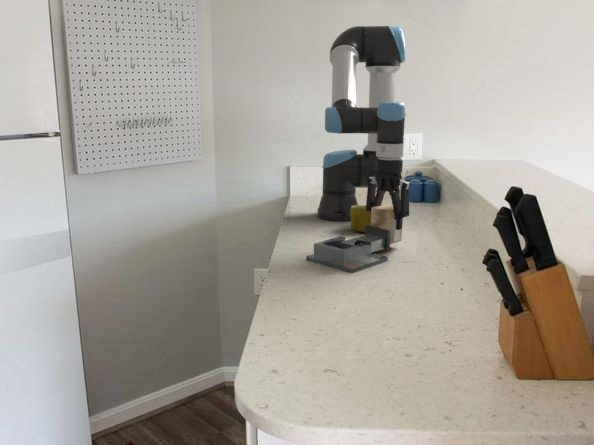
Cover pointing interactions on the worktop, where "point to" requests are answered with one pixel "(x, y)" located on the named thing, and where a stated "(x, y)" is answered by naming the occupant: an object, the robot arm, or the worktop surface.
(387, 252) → the worktop surface
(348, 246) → the grey blocky piece
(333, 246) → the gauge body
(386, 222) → the block
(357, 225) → the mug
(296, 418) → the worktop surface
